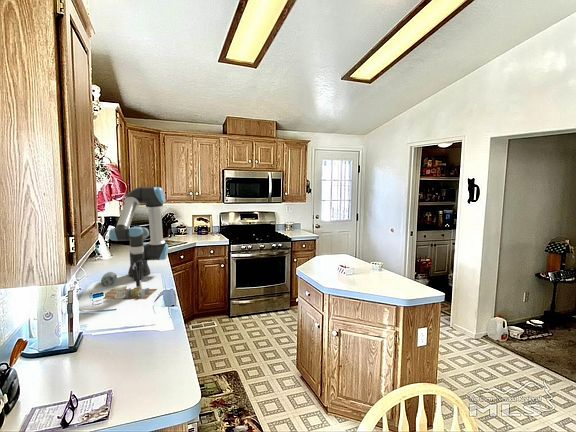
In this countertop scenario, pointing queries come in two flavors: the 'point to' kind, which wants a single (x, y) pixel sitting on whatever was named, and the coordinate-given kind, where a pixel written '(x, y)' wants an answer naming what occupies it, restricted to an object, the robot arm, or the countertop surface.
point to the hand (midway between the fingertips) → (139, 290)
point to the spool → (108, 279)
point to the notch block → (141, 293)
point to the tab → (136, 292)
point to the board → (112, 292)
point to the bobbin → (120, 292)
